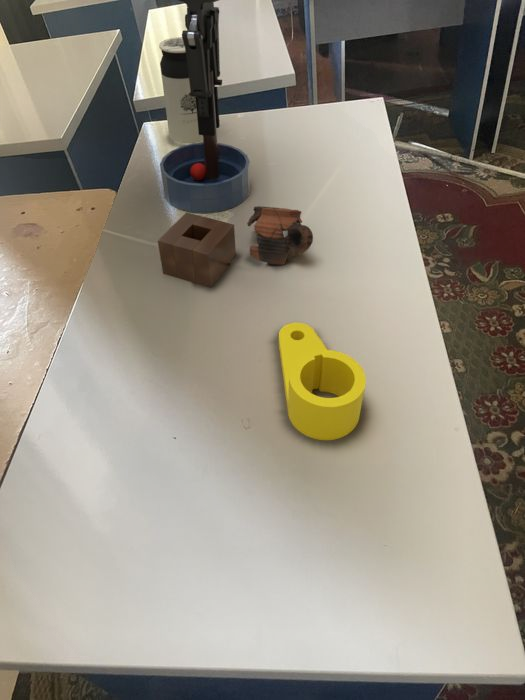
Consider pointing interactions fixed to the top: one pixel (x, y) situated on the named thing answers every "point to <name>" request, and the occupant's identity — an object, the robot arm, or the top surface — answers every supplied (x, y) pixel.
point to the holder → (197, 249)
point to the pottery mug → (279, 234)
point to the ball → (198, 171)
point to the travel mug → (178, 93)
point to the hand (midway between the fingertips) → (209, 130)
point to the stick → (211, 145)
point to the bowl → (205, 179)
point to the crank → (319, 384)
